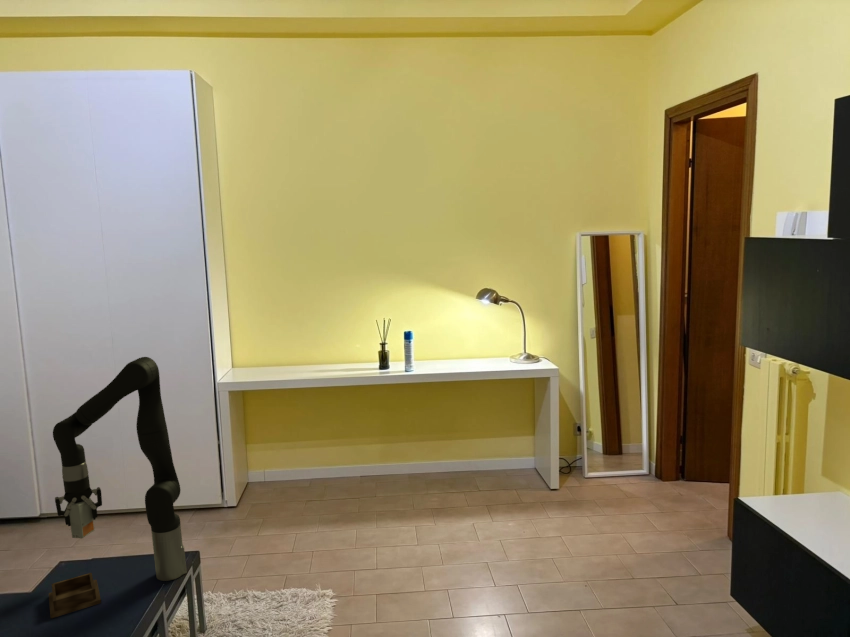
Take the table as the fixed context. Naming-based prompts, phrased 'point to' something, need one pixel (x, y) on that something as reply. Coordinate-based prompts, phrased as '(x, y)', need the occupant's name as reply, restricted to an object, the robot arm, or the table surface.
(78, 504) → the skincare box
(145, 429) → the robot arm
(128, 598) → the table surface
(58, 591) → the walnut stand
